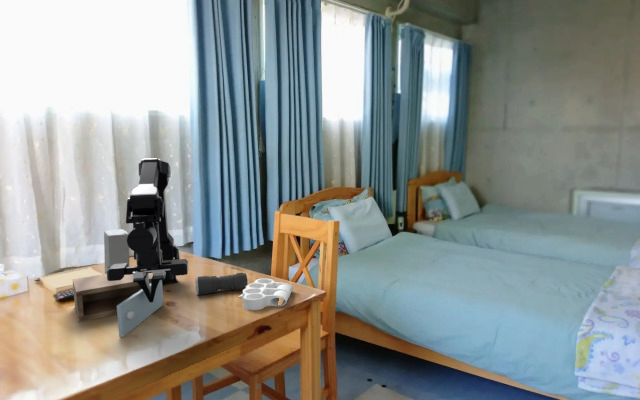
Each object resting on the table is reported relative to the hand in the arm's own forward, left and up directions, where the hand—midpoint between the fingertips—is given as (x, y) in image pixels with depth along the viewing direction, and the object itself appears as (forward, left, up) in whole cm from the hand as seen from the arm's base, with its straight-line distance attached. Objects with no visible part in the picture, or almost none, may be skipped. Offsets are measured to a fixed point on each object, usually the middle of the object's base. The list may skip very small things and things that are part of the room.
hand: (151, 301), depth 112 cm
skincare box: (+2, -44, -5) cm, 44 cm away
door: (+1, -1, -5) cm, 5 cm away
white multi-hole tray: (-31, +2, -6) cm, 31 cm away
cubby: (+6, -16, -5) cm, 18 cm away
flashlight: (-22, -11, -5) cm, 25 cm away
